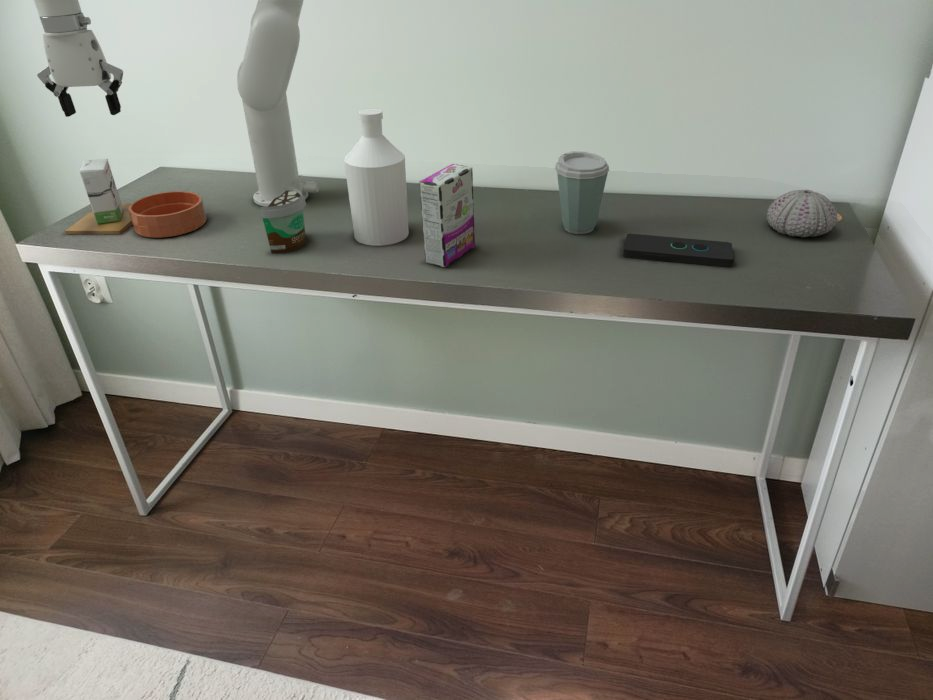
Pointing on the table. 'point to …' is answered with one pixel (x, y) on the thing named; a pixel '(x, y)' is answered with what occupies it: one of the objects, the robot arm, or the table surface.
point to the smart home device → (678, 250)
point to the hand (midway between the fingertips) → (93, 114)
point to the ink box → (101, 190)
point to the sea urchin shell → (802, 214)
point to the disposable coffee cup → (581, 189)
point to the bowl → (167, 214)
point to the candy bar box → (447, 214)
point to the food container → (285, 221)
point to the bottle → (376, 185)
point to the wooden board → (91, 227)
